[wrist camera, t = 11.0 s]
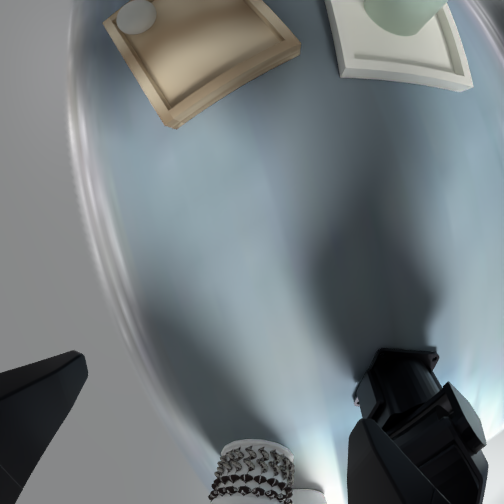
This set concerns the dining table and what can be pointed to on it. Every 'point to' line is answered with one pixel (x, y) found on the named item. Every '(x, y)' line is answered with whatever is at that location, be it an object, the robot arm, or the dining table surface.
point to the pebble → (136, 17)
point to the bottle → (307, 497)
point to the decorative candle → (254, 473)
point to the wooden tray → (202, 52)
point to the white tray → (398, 49)
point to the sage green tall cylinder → (402, 14)
